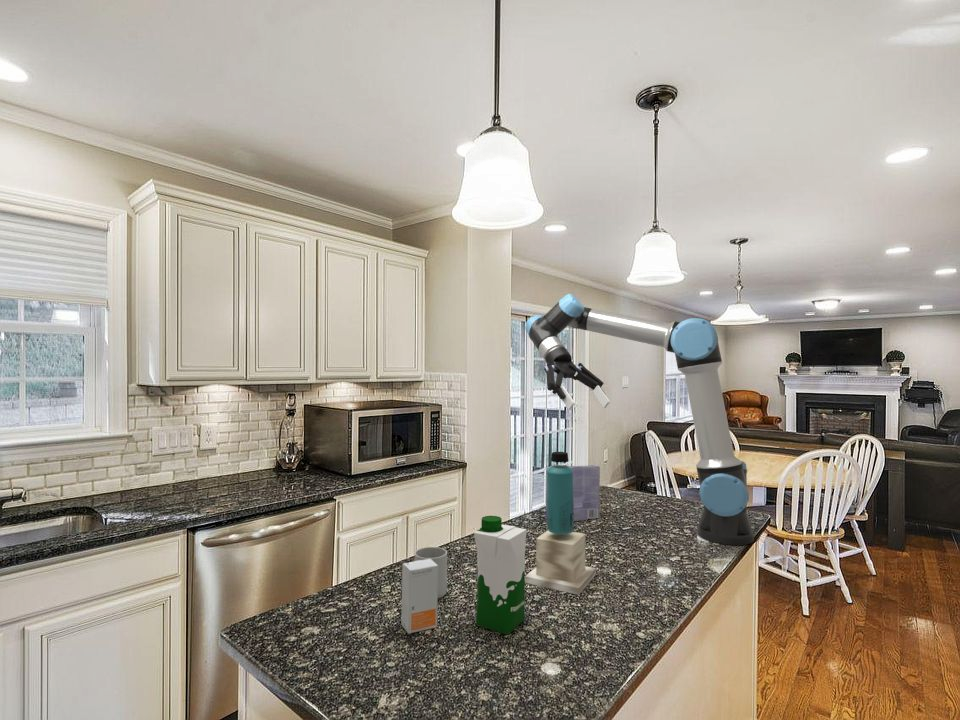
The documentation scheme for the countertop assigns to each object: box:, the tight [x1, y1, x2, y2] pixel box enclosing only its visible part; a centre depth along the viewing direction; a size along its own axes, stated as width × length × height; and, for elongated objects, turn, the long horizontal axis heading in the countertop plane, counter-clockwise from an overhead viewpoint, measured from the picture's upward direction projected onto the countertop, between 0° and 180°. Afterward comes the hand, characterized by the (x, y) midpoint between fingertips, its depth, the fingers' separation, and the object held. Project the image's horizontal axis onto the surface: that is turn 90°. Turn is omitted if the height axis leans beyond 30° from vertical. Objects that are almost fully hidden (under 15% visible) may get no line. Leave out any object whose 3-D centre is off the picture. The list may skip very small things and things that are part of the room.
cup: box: [414, 546, 448, 599], centre depth 113 cm, size 7×10×9 cm
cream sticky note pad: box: [525, 529, 597, 596], centre depth 122 cm, size 13×13×10 cm
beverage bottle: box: [545, 451, 575, 534], centre depth 122 cm, size 6×7×20 cm
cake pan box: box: [545, 464, 601, 522], centre depth 170 cm, size 19×5×18 cm, turn 108°
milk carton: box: [473, 515, 527, 636], centre depth 101 cm, size 9×9×20 cm
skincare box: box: [400, 559, 439, 635], centre depth 99 cm, size 6×4×12 cm
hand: (589, 405), depth 146 cm, fingers open, 13 cm apart
